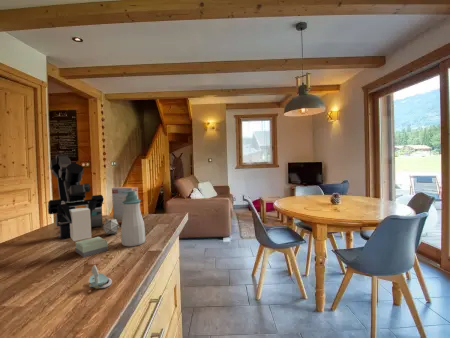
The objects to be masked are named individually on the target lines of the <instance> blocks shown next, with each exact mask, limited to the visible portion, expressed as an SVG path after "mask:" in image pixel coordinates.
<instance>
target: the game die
mask: <svg viewBox="0 0 450 338" xmlns="http://www.w3.org/2000/svg"><path fill="white" fill-rule="evenodd" d="M104 220H105V221H104V223H103V226H100V228H102V229H103V230H104V232H105V235H104V236H106V237H107V235H113V234H116V235H118V230H119V228H121V224H118V222H117V218H116V219H113V218H110V219H107V218H104Z"/></svg>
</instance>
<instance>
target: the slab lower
mask: <svg viewBox="0 0 450 338" xmlns="http://www.w3.org/2000/svg"><path fill="white" fill-rule="evenodd" d="M108 248H109V246H107V247H103V248H99V249H96V250H92V251H88V252H85V253H83V252H81V251H80V250H78V249H77V248H76V247H75V253H77V254H79V256H81V257H83V258H86V257H89V256H93V255H96V254H99V253H103V252H106V251H109V249H108Z"/></svg>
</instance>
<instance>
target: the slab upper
mask: <svg viewBox="0 0 450 338" xmlns="http://www.w3.org/2000/svg"><path fill="white" fill-rule="evenodd" d="M74 242H75V243H74V244H75V248H77V249H78V250H80V251H81V252H83V253H85V252H88V251H92V250H96V249H99V248H103V247H107V246H108V245H109V244H108V240H107V239H104V238H102V237H100V236H96V237H92V238H87V239H82V240H77V241H74ZM108 247H109V246H108Z"/></svg>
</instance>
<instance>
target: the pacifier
mask: <svg viewBox="0 0 450 338" xmlns="http://www.w3.org/2000/svg"><path fill="white" fill-rule="evenodd" d="M91 273H92V275H90V276H89V277H88V283H89V287H90V288H93V289H105V288H108V287H110V286H111V284H112V283H113V280H112V279H111V278H110V277H107V275H105V274H104V273H101V272H99V270H98V268H97V265H96V264H93V265H92V267H91ZM107 282H108V283H107ZM105 283H106V284H105Z"/></svg>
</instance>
